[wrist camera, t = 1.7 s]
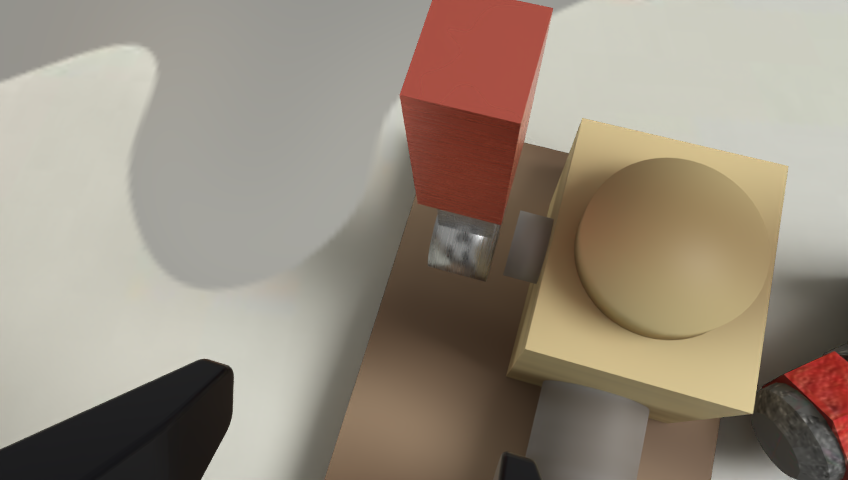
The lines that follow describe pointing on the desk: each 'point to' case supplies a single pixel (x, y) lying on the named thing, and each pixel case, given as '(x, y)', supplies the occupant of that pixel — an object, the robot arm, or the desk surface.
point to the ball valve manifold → (577, 321)
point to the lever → (471, 120)
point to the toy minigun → (807, 419)
